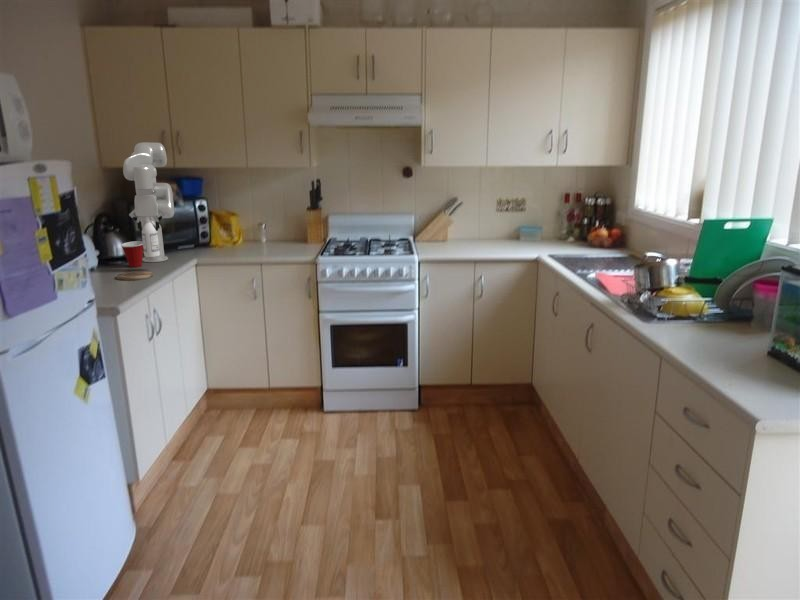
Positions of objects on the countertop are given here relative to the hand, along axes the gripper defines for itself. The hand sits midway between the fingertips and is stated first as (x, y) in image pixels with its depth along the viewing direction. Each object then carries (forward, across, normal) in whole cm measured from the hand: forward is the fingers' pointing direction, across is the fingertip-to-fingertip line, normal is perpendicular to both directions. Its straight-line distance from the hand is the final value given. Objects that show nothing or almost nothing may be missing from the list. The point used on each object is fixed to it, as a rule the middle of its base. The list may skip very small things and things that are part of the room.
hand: (149, 230), depth 263 cm
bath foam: (+13, 0, 0) cm, 13 cm away
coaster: (+20, +7, +12) cm, 24 cm away
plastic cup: (+21, +10, -13) cm, 26 cm away
